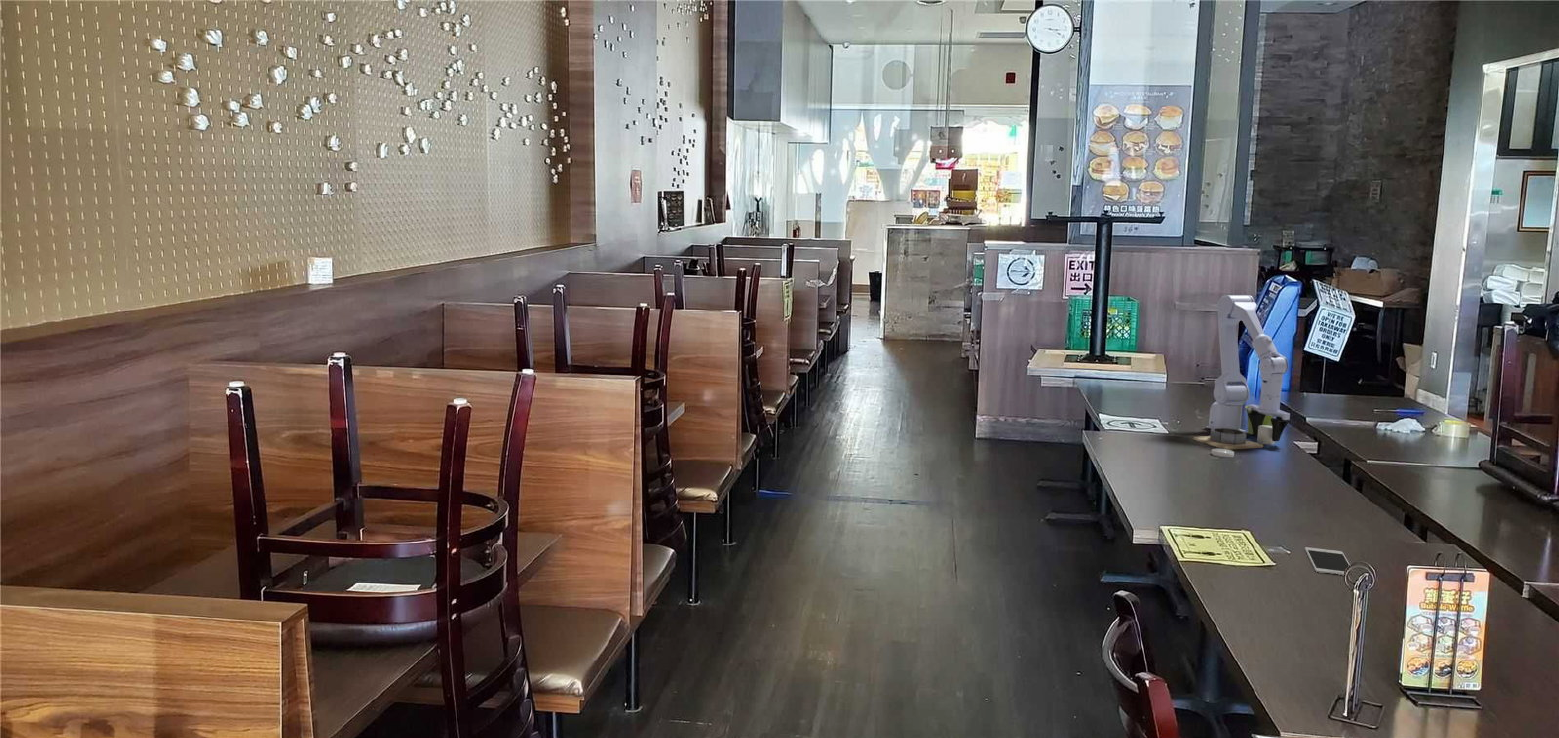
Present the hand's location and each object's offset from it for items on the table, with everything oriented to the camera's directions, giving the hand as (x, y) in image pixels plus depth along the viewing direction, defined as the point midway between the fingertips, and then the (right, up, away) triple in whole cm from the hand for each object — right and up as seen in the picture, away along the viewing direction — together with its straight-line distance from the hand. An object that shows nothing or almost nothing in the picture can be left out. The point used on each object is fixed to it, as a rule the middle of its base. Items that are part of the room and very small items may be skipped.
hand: (1266, 438), depth 325 cm
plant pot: (+3, 0, +12) cm, 12 cm away
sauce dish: (-21, -4, -18) cm, 28 cm away
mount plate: (-13, -1, -2) cm, 13 cm away
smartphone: (-38, -19, -110) cm, 118 cm away
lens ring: (-13, -1, -2) cm, 13 cm away
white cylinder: (0, -1, 0) cm, 2 cm away
